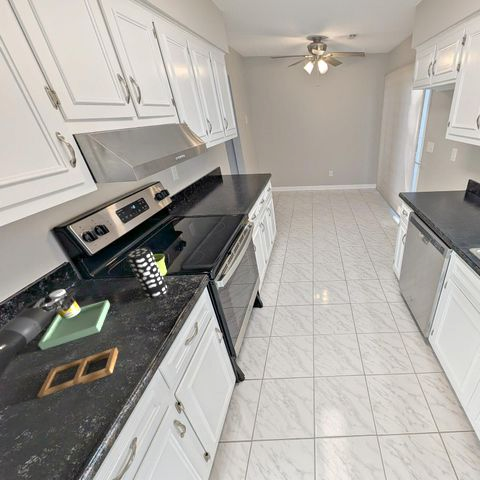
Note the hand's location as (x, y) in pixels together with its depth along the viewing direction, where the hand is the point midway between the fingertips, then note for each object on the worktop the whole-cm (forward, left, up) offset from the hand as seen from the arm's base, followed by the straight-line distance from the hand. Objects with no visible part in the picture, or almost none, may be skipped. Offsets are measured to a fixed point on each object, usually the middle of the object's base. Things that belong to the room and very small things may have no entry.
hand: (64, 292), depth 90 cm
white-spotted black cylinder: (+24, +5, -14) cm, 28 cm away
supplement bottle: (-1, -3, -8) cm, 9 cm away
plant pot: (+24, +20, -14) cm, 34 cm away
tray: (-1, -2, -14) cm, 14 cm away
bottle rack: (+7, -28, -14) cm, 32 cm away
